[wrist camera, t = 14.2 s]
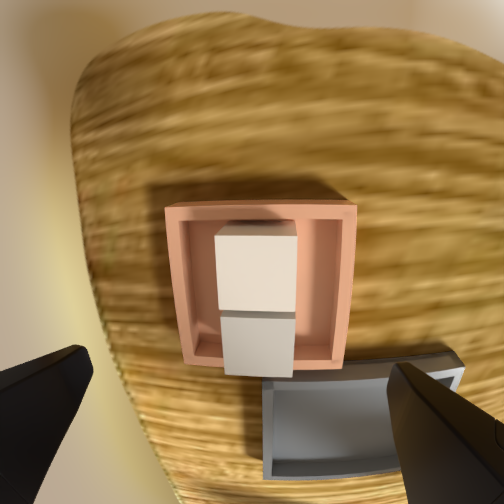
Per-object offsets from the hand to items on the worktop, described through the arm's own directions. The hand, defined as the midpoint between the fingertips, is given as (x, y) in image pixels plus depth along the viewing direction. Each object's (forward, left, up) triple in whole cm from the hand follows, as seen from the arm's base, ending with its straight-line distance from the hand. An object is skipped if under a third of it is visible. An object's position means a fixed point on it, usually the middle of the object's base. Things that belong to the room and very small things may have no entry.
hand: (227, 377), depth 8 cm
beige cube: (0, 0, -12) cm, 12 cm away
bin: (-8, +16, -12) cm, 22 cm away
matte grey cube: (0, +4, -12) cm, 13 cm away
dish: (0, +2, -12) cm, 13 cm away
